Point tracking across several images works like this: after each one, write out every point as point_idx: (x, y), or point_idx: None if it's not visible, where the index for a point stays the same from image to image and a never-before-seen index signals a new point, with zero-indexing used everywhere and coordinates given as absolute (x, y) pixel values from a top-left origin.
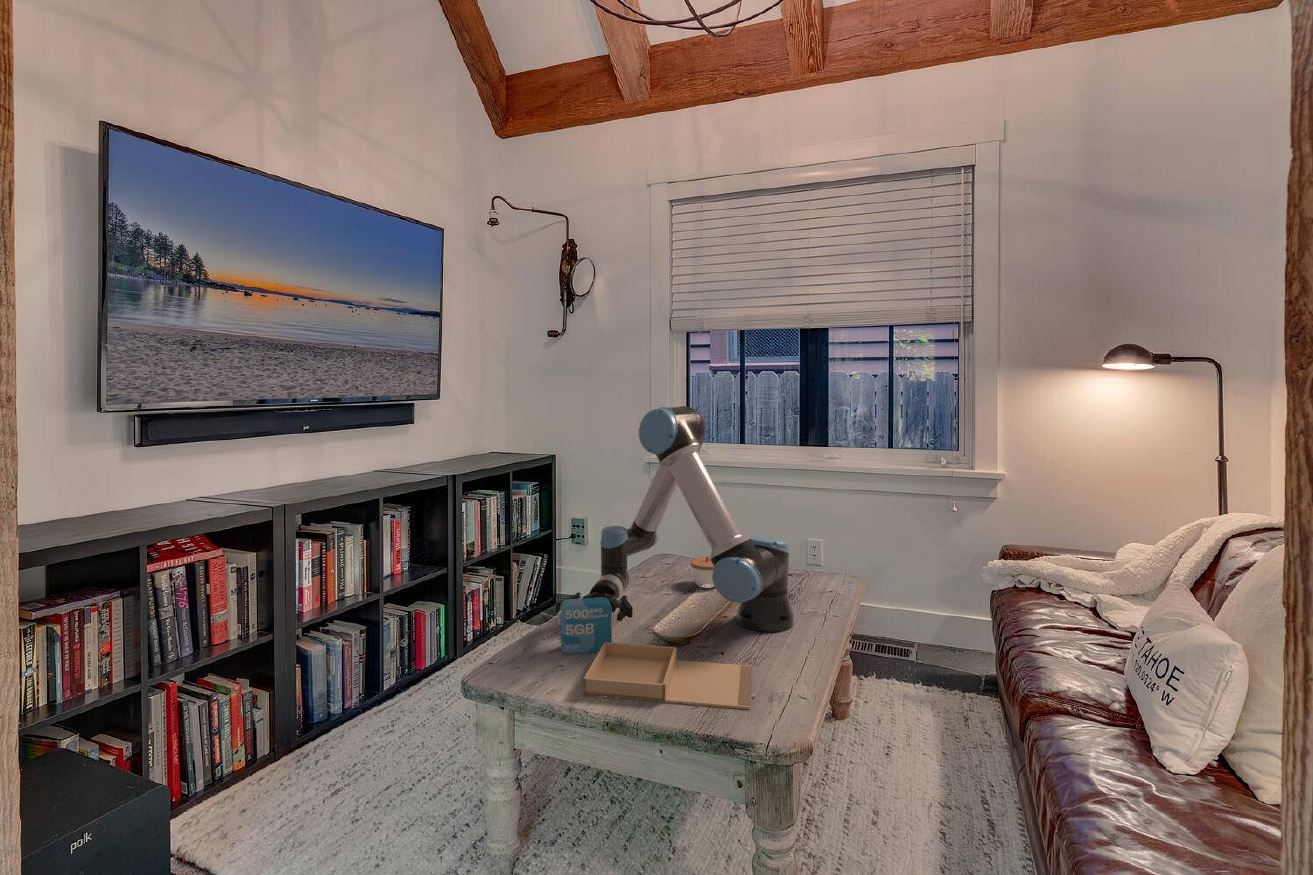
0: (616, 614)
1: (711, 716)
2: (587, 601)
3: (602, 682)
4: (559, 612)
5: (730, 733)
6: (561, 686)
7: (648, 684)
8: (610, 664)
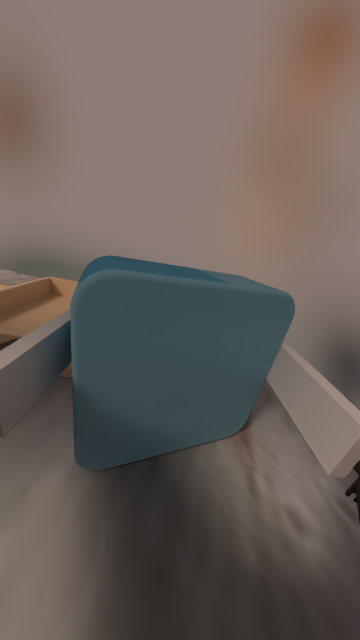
0: (47, 325)
1: (11, 281)
2: (191, 272)
3: None
4: (292, 350)
5: (12, 273)
6: None
7: (68, 280)
8: None
